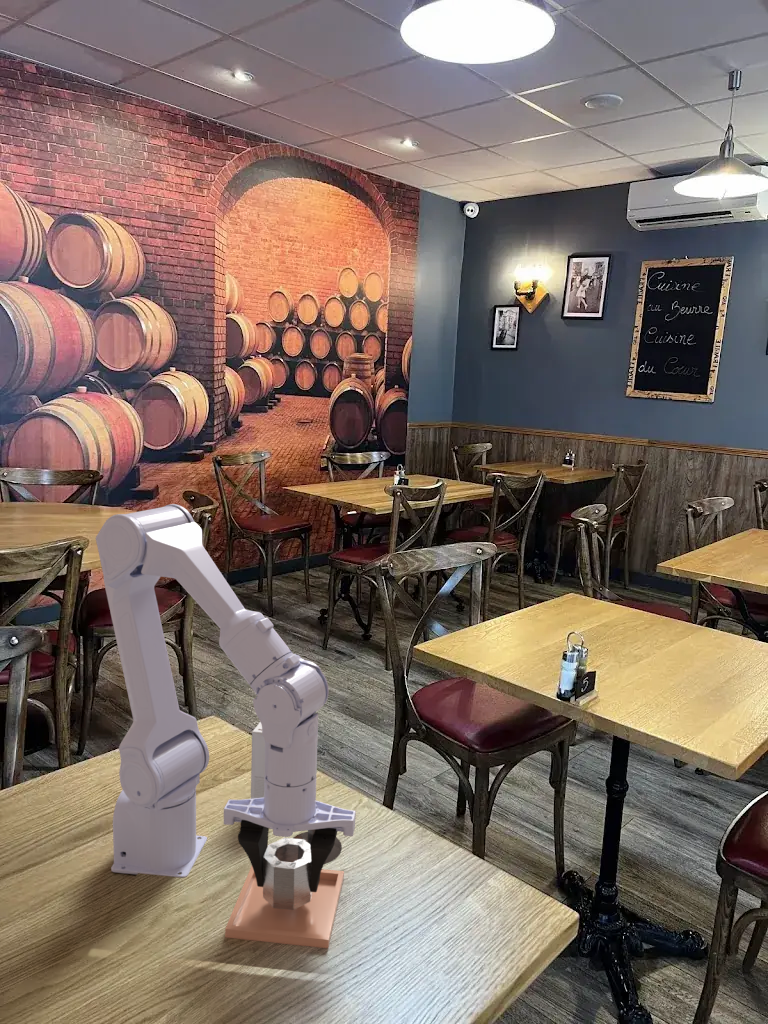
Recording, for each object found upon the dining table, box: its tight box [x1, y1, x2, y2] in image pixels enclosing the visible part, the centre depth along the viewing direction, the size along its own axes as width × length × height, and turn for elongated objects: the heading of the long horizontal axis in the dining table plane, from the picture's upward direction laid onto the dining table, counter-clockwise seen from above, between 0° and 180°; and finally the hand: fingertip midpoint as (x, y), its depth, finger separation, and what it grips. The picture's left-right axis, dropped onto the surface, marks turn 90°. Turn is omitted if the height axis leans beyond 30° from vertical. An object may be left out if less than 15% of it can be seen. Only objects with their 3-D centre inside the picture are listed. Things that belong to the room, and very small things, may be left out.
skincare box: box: [250, 721, 265, 799], centre depth 105 cm, size 6×4×12 cm
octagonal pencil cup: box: [263, 837, 313, 910], centre depth 85 cm, size 5×5×5 cm
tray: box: [224, 865, 345, 950], centre depth 85 cm, size 11×11×2 cm
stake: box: [292, 829, 343, 865], centre depth 95 cm, size 7×7×6 cm
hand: (288, 883), depth 85 cm, fingers closed on octagonal pencil cup, 5 cm apart
